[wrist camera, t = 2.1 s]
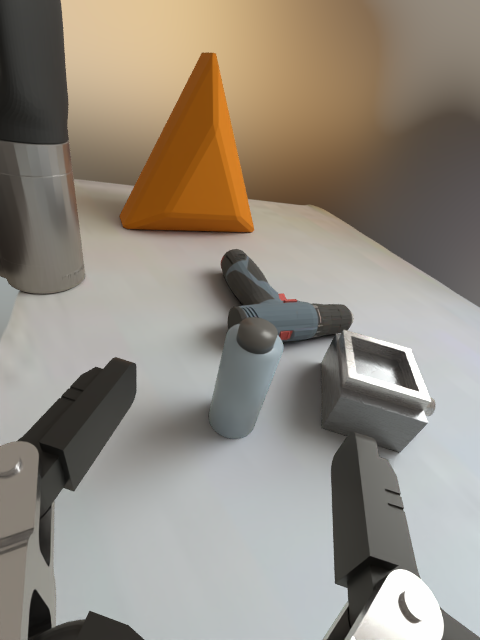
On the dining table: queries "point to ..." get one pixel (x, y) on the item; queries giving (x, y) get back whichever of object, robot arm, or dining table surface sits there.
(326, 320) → the power drill
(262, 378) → the capped canister
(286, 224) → the dining table surface
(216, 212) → the decorative object
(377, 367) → the grey metal open box
